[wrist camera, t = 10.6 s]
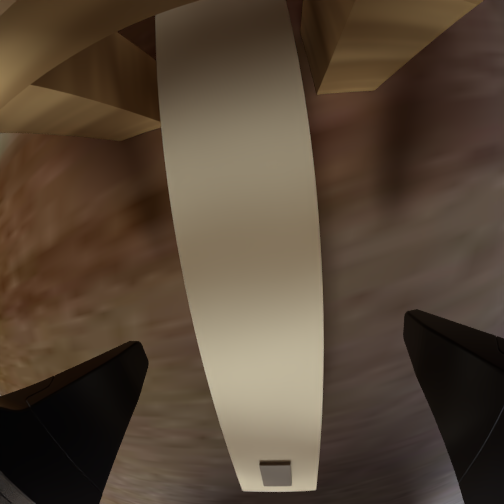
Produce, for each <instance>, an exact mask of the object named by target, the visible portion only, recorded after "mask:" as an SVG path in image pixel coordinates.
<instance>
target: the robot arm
mask: <svg viewBox="0 0 504 504" xmlns="http://www.w3.org/2000/svg"><path fill="white" fill-rule="evenodd" d="M403 337H404V342H405V344H406V347H407V350H408V353H409V356H410V359H411V362H412V365H413V368H414V371H415V374H416V377H417V379H418V381H419V384H420V386H421V388H422V390H423V392H424V395H425V397H426V399H427V401H428V404H429V406H430V408H431V411H432V413H433V415H434V418H435V420H436V423H437V425H438V428H439V430H440V433H441V435H442V438H443V440H444V443H445V446H446V448H447V451H448V454H449V456H450V459H451V462H452V465H453V468H454V471H455V474H456V477H457V480H458V482H459V487H460V490H461V493H462V497H463V500H464V503H465V504H504V338H501V337H496V336H495V335H492V334H489V333H486V332H483V331H480V330H477V329H474V328H471V327H468V326H465V325H462V324H459V323H456V322H453V321H450V320H447V319H444V318H441V317H438V316H435V315H432V314H430V313H427V312H424V311H421V310H418V309H415V310H411V311H407V312H406V313H405V317H404V332H403ZM147 369H148V359H147V356H146V354H145V351H144V349H143V346H142V344H141V343H140V342H139V341H129V342H127V343H124V344H122V345H120V346H118V347H116V348H114V349H112V350H110V351H107V352H105V353H103V354H101V355H99V356H97V357H94V358H92V359H90V360H88V361H86V362H84V363H81V364H79V365H77V366H75V367H73V368H70V369H68V370H66V371H64V372H61V373H59V374H57V375H55V376H52V377H50V378H48V379H46V380H43V381H41V382H38V383H36V384H34V385H31V386H28V387H26V388H23V389H20V390H18V391H15V392H12V393H9V394H6V395H3V396H0V504H99V503H100V500H101V497H102V493H103V491H104V488H105V485H106V482H107V479H108V477H109V474H110V471H111V468H112V466H113V463H114V460H115V458H116V455H117V452H118V450H119V447H120V445H121V442H122V439H123V437H124V434H125V432H126V429H127V427H128V424H129V422H130V419H131V417H132V414H133V412H134V409H135V407H136V404H137V402H138V399H139V396H140V393H141V389H142V386H143V382H144V379H145V376H146V372H147Z"/></svg>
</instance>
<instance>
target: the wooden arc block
mask: <svg viewBox="0 0 504 504" xmlns="http://www.w3.org/2000/svg"><path fill="white" fill-rule="evenodd" d="M196 1H199V0H0V133H33V134H51V135H65V136H77V137H88V138H97V139H106V140H114V141H122V140H125V139H128V138H131V137H133V136H136V135H139V134H142V133H145V132H148V131H151V130H154V129H157V128H160V127H161V120H160V109H159V96H158V81H157V62H156V60H155V59H153V58H152V57H151V56H149V55H148V54H147V53H145V52H144V51H143V50H141V49H140V48H139V47H137V46H136V45H134V44H133V43H132V42H130V41H129V40H128V39H126V38H125V37H123V36H122V35H120V34H119V33H118V32H117V31H119V30H121V29H124V28H126V27H128V26H130V25H132V24H135V23H137V22H139V21H142V20H144V19H147V18H149V17H152V16H154V15H157V14H160V13H162V12H165V11H168V10H171V9H174V8H177V7H180V6H183V5H186V4H189V3H193V2H196ZM482 1H484V0H303V6H302V18H301V29H300V33H301V36H302V40H303V43H304V47H305V51H306V54H307V58H308V62H309V65H310V69H311V73H312V77H313V81H314V85H315V90H316V94H317V95H319V94H329V93H341V92H357V91H374V90H376V89H377V88H378V87H379V86H380V85H381V84H382V83H384V82H385V81H386V80H387V79H388V78H389V77H390V76H392V75H393V74H394V73H395V72H396V71H397V70H398V69H400V68H401V67H402V66H403V65H404V64H405V63H407V62H408V61H409V60H410V59H411V58H413V57H414V56H415V55H416V54H417V53H418V52H420V51H421V50H422V49H423V48H424V47H426V46H427V45H428V44H429V43H430V42H432V41H433V40H434V39H435V38H437V37H438V36H439V35H440V34H441V33H443V32H444V31H445V30H446V29H448V28H449V27H450V26H451V25H453V24H454V23H455V22H456V21H458V20H459V19H460V18H461V17H463V16H464V15H465V14H467V13H468V12H469V11H470V10H472V9H473V8H474V7H476V6H477V5H478V4H480V3H481V2H482Z"/></svg>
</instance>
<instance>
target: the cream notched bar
mask: <svg viewBox="0 0 504 504" xmlns="http://www.w3.org/2000/svg"><path fill="white" fill-rule="evenodd" d="M155 30H156V62H157V81H158V96H159V109H160V120H161V131H162V140H163V150H164V158H165V166H166V174H167V182H168V189H169V196H170V203H171V210H172V216H173V222H174V228H175V234H176V240H177V246H178V252H179V257H180V262H181V268H182V273H183V278H184V283H185V288H186V293H187V297H188V302H189V307H190V311H191V316H192V320H193V325H194V329H195V333H196V337H197V342H198V346H199V350H200V354H201V358H202V362H203V366H204V369H205V373H206V377H207V381H208V384H209V388H210V392H211V395H212V399H213V402H214V406H215V409H216V412H217V416H218V419H219V422H220V426H221V429H222V432H223V435H224V438H225V442H226V445H227V448H228V451H229V454H230V457H231V460H232V463H233V466H234V468H235V471H236V474H237V477H238V480H239V482H240V485H241V488H242V491H252V492H294V491H311V490H316V486H317V476H318V465H319V453H320V439H321V423H322V401H323V358H324V330H323V286H322V263H321V245H320V229H319V216H318V204H317V192H316V182H315V172H314V163H313V154H312V146H311V138H310V130H309V123H308V116H307V109H306V102H305V96H304V89H303V83H302V77H301V72H300V66H299V61H298V55H297V50H296V45H295V40H294V35H293V30H292V25H291V21H290V16H289V12H288V7H287V3H286V0H199V1H196V2H193V3H189V4H186V5H183V6H180V7H177V8H174V9H171V10H168V11H165V12H162V13H160V14H157V15H155Z"/></svg>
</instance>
